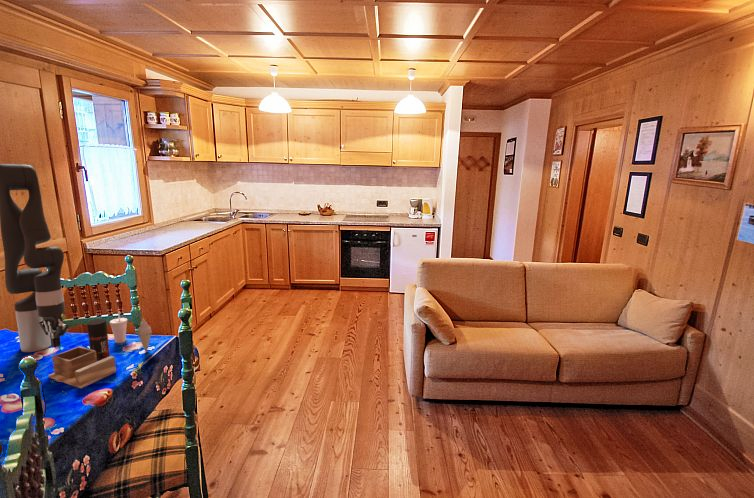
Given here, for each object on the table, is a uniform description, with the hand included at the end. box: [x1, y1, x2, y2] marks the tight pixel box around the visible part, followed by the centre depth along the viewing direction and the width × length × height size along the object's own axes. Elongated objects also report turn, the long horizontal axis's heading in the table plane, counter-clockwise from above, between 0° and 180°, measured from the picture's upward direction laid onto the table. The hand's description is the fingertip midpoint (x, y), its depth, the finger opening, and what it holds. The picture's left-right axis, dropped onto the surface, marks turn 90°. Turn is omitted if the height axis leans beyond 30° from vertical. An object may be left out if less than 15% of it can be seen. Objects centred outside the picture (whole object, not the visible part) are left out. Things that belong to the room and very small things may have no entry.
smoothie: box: [109, 310, 128, 344], centre depth 160 cm, size 6×6×14 cm
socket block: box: [51, 345, 98, 379], centre depth 134 cm, size 9×9×6 cm
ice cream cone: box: [136, 317, 153, 352], centre depth 152 cm, size 5×5×15 cm
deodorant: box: [86, 318, 111, 362], centre depth 145 cm, size 6×6×15 cm
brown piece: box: [48, 355, 117, 389], centre depth 133 cm, size 17×12×6 cm
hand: (56, 346), depth 136 cm, fingers closed
